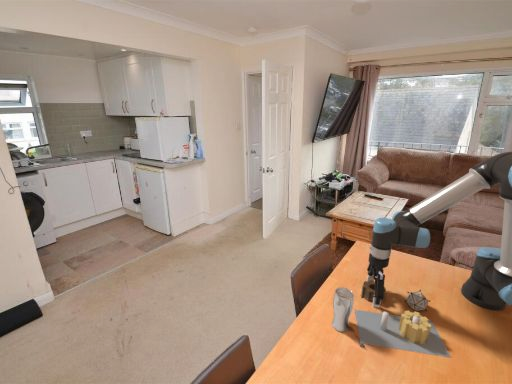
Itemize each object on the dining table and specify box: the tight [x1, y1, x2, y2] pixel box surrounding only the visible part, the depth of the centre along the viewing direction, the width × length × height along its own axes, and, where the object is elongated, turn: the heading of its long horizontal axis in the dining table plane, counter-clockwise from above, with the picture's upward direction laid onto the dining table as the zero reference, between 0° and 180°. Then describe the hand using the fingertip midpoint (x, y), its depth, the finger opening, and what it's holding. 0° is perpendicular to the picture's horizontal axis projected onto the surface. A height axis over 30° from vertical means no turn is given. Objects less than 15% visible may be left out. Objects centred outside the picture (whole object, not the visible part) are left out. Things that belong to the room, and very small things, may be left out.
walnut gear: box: [360, 280, 387, 304], centre depth 113 cm, size 9×9×6 cm
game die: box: [403, 288, 431, 312], centre depth 107 cm, size 9×8×10 cm
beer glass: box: [331, 286, 355, 333], centre depth 98 cm, size 7×7×15 cm
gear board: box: [354, 309, 452, 358], centre depth 95 cm, size 28×16×8 cm, turn 79°
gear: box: [399, 310, 431, 344], centre depth 94 cm, size 9×9×6 cm
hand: (372, 298), depth 114 cm, fingers open, 12 cm apart
